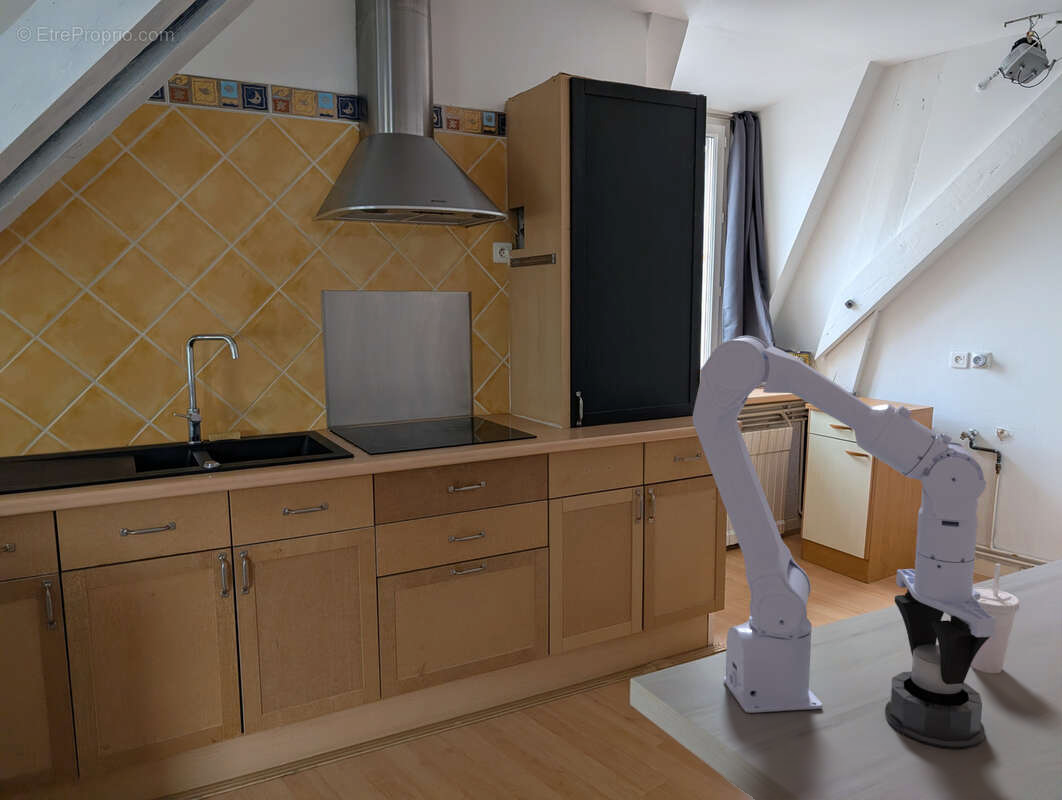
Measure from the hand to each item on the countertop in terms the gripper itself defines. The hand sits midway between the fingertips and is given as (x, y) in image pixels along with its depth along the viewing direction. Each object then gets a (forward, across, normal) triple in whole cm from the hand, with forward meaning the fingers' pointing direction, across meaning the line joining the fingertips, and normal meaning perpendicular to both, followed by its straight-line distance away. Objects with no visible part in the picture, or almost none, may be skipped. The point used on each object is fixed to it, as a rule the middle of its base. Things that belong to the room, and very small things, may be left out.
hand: (937, 670), depth 85 cm
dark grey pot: (+6, 0, 0) cm, 6 cm away
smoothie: (+7, +12, -15) cm, 20 cm away
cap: (+2, 0, 0) cm, 2 cm away
